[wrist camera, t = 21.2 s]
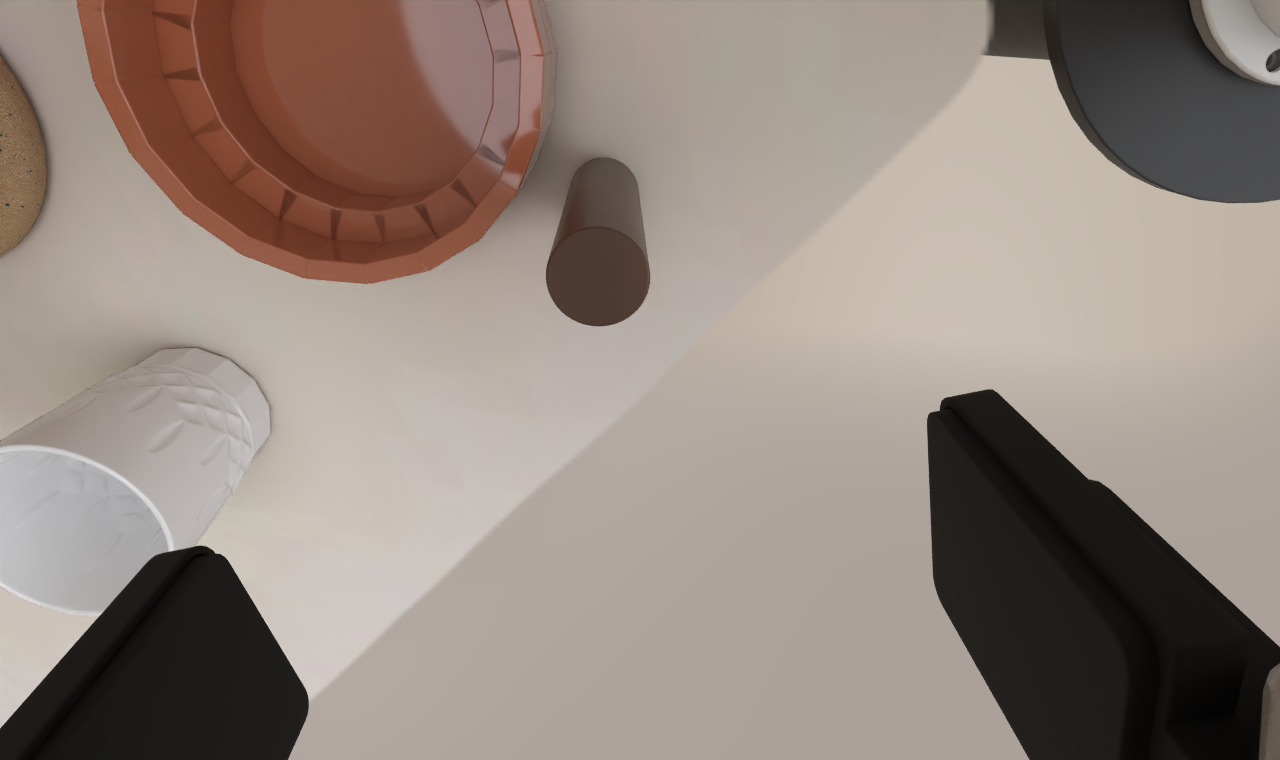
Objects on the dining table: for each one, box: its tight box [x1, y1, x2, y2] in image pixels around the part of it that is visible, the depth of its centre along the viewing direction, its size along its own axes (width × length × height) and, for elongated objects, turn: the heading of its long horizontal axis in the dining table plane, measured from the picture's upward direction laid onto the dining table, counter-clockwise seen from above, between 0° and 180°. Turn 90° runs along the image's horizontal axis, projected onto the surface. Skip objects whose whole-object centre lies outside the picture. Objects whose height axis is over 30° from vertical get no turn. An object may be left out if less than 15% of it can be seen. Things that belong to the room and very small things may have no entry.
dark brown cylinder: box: [546, 158, 650, 326], centre depth 26 cm, size 3×3×12 cm
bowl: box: [77, 0, 557, 284], centre depth 26 cm, size 15×15×6 cm
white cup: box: [0, 348, 271, 616], centre depth 31 cm, size 8×8×10 cm
